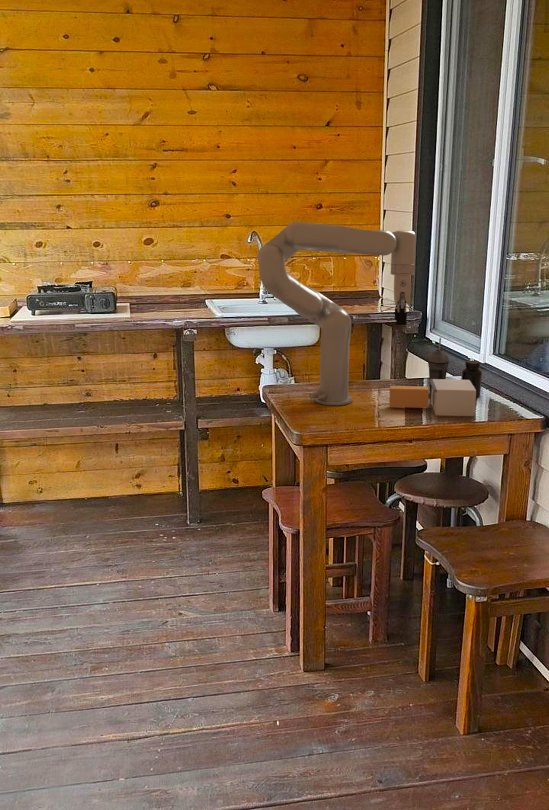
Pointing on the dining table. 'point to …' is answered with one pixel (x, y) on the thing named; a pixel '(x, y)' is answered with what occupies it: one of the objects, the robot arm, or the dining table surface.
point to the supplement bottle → (473, 375)
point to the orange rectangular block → (409, 396)
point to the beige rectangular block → (453, 397)
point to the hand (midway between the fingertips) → (400, 322)
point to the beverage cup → (437, 365)
